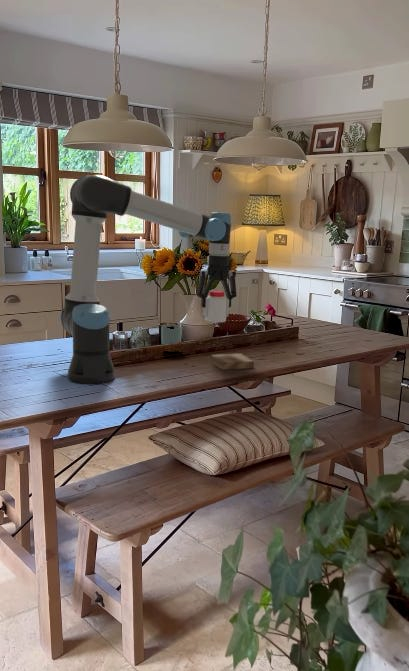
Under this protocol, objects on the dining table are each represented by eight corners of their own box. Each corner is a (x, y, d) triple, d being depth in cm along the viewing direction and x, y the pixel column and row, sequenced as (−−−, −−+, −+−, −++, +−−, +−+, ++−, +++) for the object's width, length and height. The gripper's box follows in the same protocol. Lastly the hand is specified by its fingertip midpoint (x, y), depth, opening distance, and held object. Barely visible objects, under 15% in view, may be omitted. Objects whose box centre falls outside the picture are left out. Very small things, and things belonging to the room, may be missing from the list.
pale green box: (178, 354, 235) (178, 329, 233) (158, 353, 236) (159, 327, 234) (182, 350, 242) (183, 325, 240) (164, 348, 244) (164, 324, 242)
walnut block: (222, 371, 215) (222, 362, 214) (210, 362, 226) (210, 354, 226) (253, 369, 219) (253, 361, 218) (240, 361, 230) (240, 353, 229)
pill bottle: (221, 318, 235) (223, 290, 232) (228, 322, 227) (230, 293, 225) (202, 318, 232) (203, 290, 230) (209, 322, 225) (210, 292, 223)
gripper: (195, 255, 218) (193, 318, 222) (248, 256, 225) (244, 317, 229) (189, 253, 225) (186, 314, 229) (240, 254, 232) (237, 313, 236)
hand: (215, 315), depth 229 cm, fingers closed on pill bottle, 8 cm apart
